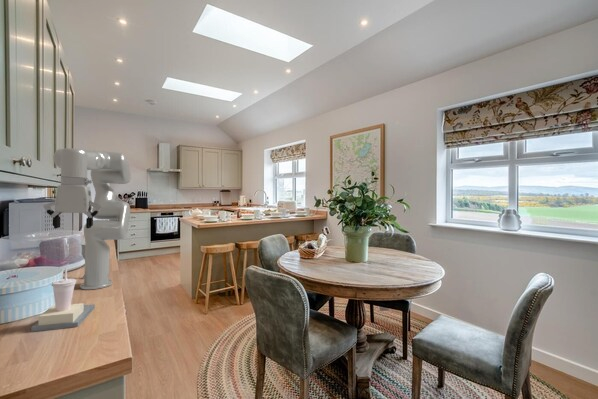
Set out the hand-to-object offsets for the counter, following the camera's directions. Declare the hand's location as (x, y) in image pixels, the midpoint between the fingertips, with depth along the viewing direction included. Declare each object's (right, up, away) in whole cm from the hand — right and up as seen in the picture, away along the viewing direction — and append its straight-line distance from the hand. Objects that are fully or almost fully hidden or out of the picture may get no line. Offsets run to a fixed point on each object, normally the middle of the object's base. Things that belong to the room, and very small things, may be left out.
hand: (73, 227), depth 101 cm
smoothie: (+3, -27, -8) cm, 29 cm away
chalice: (-26, -31, +40) cm, 57 cm away
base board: (+2, -32, -6) cm, 32 cm away
